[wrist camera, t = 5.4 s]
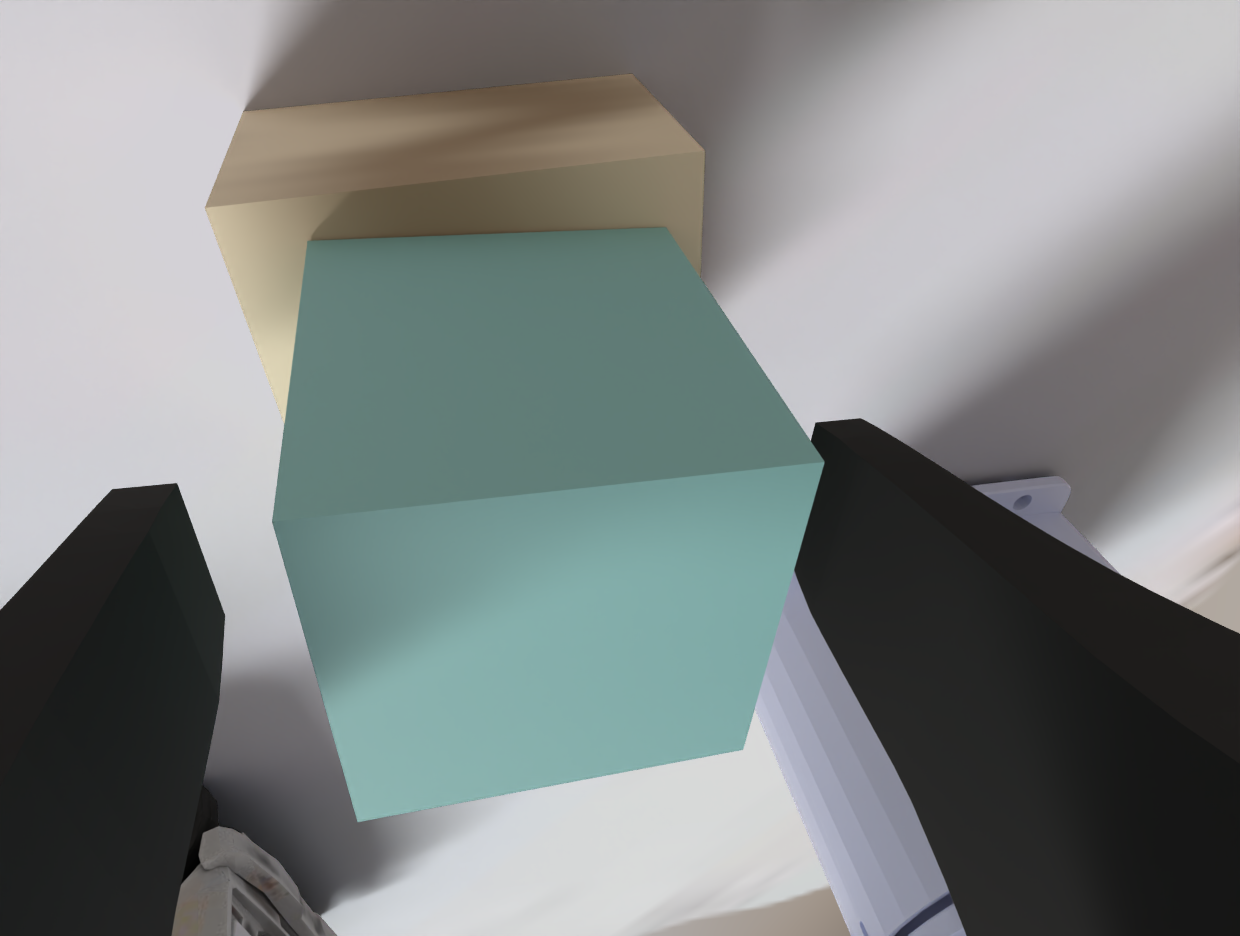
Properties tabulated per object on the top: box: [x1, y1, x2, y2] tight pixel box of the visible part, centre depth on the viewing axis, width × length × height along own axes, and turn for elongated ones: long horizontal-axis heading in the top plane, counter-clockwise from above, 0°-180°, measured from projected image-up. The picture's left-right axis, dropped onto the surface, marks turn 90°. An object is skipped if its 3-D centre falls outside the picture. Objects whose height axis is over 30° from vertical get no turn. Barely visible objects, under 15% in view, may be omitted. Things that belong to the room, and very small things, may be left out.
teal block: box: [272, 227, 824, 822], centre depth 10 cm, size 4×4×5 cm
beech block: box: [205, 74, 705, 424], centre depth 13 cm, size 6×6×4 cm
